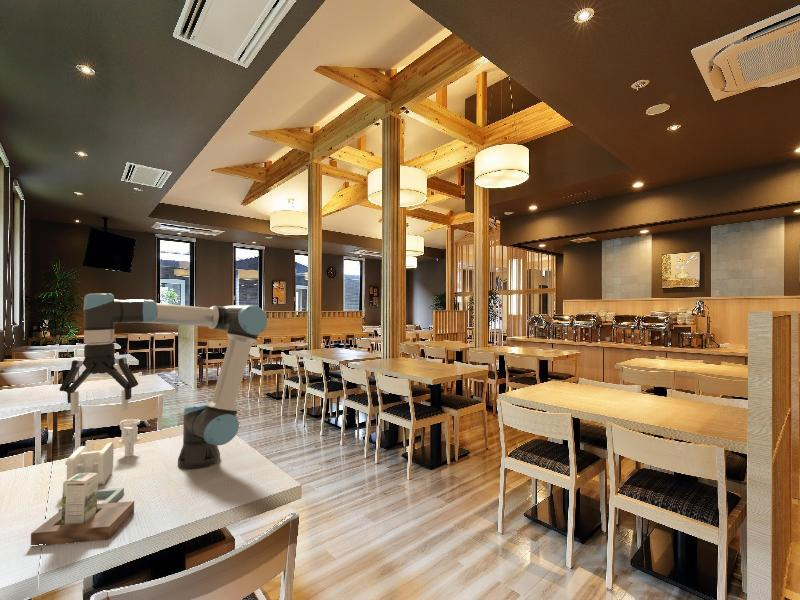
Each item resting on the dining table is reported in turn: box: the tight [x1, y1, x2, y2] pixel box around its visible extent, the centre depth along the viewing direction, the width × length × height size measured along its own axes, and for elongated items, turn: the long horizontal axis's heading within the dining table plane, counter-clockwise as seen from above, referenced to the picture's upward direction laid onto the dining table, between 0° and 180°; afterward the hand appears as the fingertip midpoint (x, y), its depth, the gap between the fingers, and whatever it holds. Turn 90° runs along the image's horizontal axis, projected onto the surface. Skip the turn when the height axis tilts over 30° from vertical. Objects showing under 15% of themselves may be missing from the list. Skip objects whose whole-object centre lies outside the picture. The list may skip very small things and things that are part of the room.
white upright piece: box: [118, 419, 141, 457], centre depth 165 cm, size 7×7×15 cm
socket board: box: [30, 500, 135, 546], centre depth 110 cm, size 18×14×4 cm
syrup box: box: [61, 473, 99, 525], centre depth 110 cm, size 6×6×14 cm
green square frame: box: [58, 487, 125, 512], centre depth 124 cm, size 12×12×2 cm
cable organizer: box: [65, 441, 115, 486], centre depth 140 cm, size 15×11×12 cm
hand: (100, 411), depth 122 cm, fingers open, 13 cm apart
